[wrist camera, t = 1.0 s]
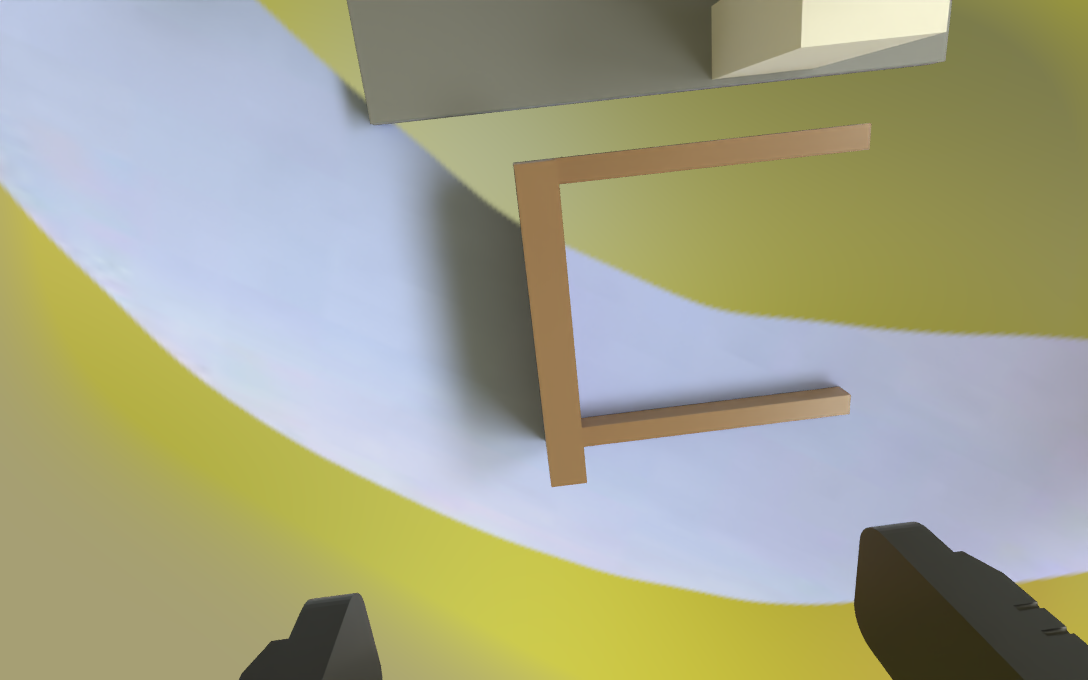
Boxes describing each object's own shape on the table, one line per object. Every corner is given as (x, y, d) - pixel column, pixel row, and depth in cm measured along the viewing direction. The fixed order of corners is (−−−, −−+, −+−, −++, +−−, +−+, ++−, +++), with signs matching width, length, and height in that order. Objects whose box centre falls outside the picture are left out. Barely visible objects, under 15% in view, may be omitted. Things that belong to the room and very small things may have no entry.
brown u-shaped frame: (856, 124, 24) (923, 118, 20) (837, 405, 28) (890, 445, 24) (513, 162, 23) (513, 164, 20) (545, 441, 27) (551, 486, 24)
